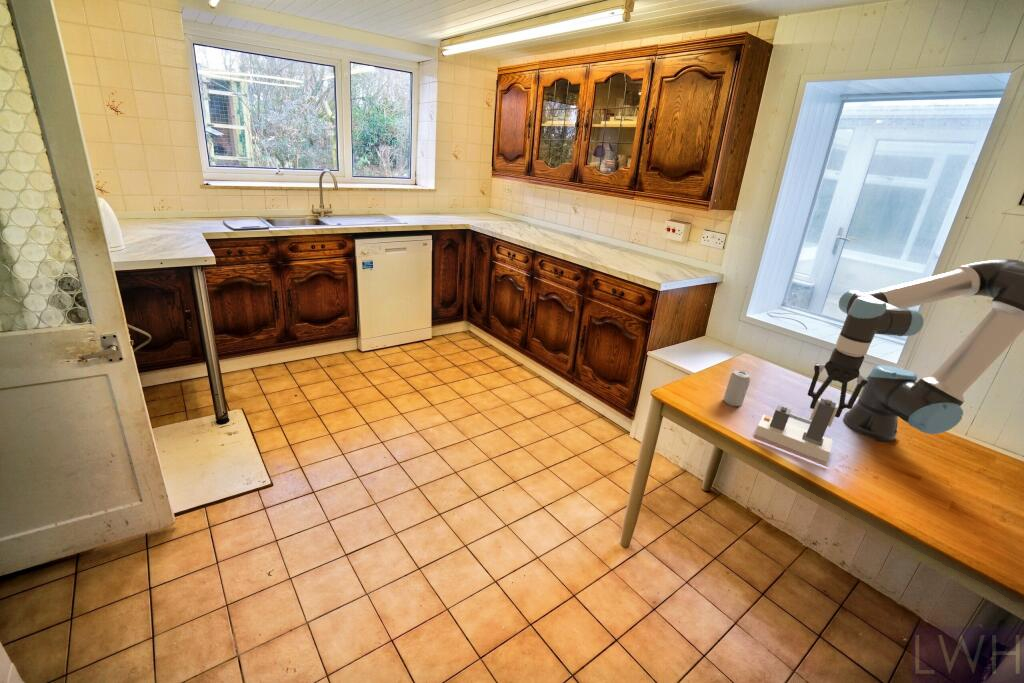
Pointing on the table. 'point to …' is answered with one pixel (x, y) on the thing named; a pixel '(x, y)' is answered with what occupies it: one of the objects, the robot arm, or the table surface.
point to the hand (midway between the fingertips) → (820, 421)
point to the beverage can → (737, 388)
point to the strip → (792, 435)
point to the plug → (821, 419)
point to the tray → (799, 421)
